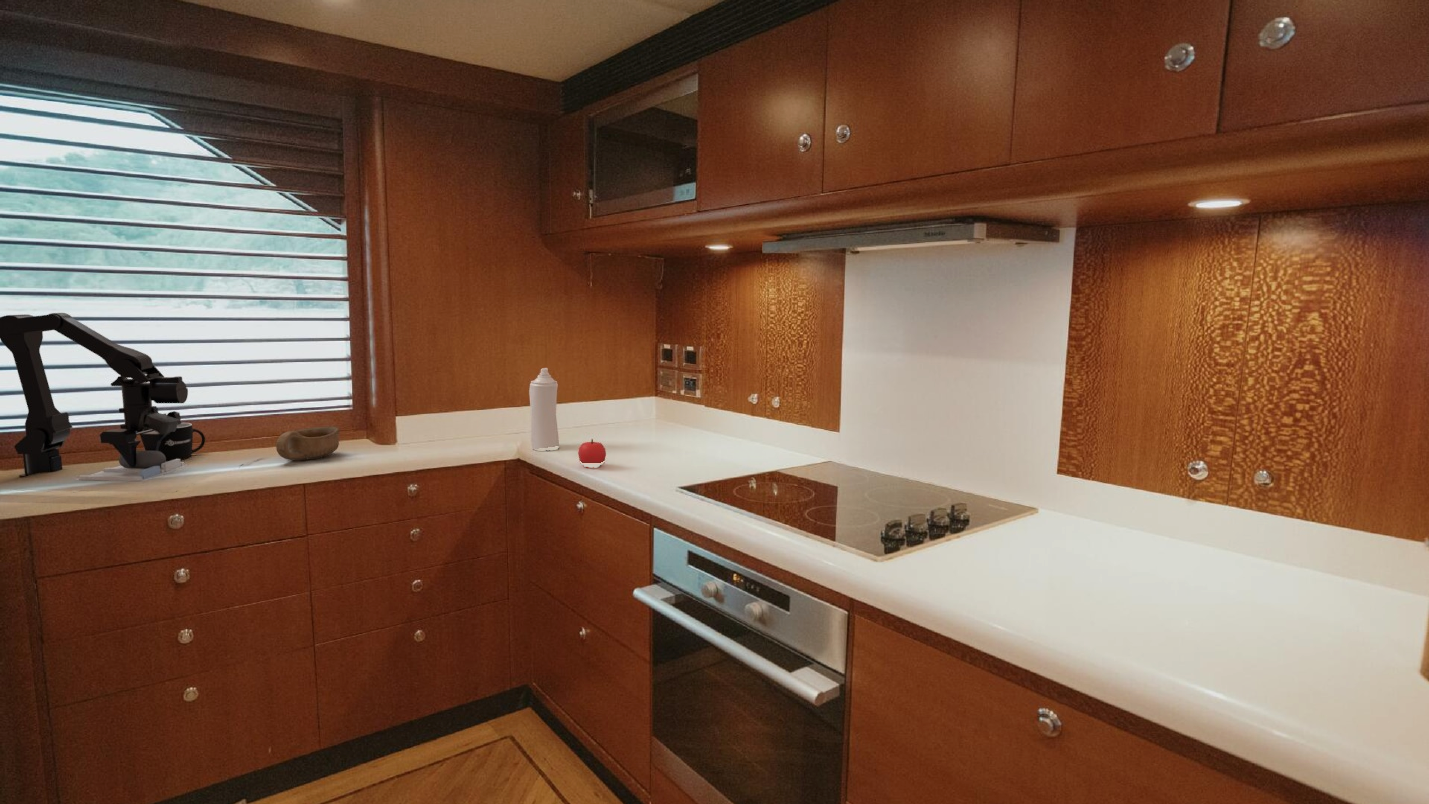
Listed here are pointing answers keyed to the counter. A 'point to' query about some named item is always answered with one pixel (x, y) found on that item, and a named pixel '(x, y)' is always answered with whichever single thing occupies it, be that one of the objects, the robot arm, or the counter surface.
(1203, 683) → the counter surface
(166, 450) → the mug
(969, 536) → the counter surface
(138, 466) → the grey capsule
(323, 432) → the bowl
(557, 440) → the spray can
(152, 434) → the robot arm
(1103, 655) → the counter surface
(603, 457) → the apple
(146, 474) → the board
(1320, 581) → the counter surface
